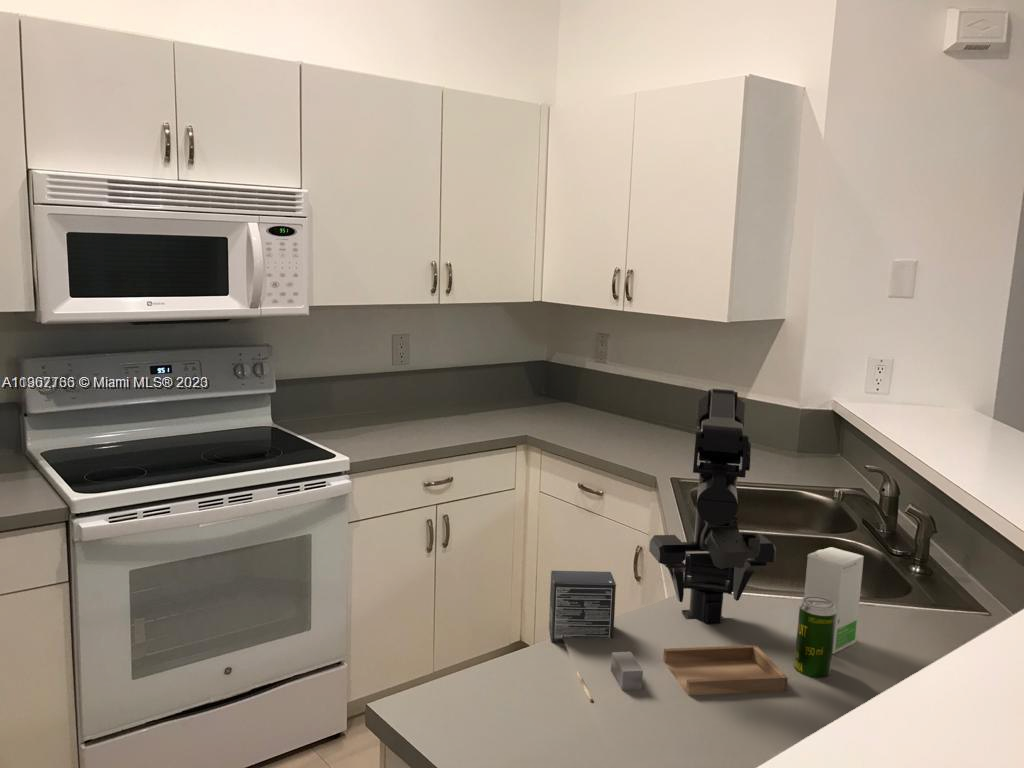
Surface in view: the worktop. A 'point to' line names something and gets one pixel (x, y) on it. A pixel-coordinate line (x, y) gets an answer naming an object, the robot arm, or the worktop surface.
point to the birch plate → (622, 672)
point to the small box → (581, 605)
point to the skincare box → (837, 589)
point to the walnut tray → (724, 670)
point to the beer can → (815, 637)
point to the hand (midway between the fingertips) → (708, 600)
